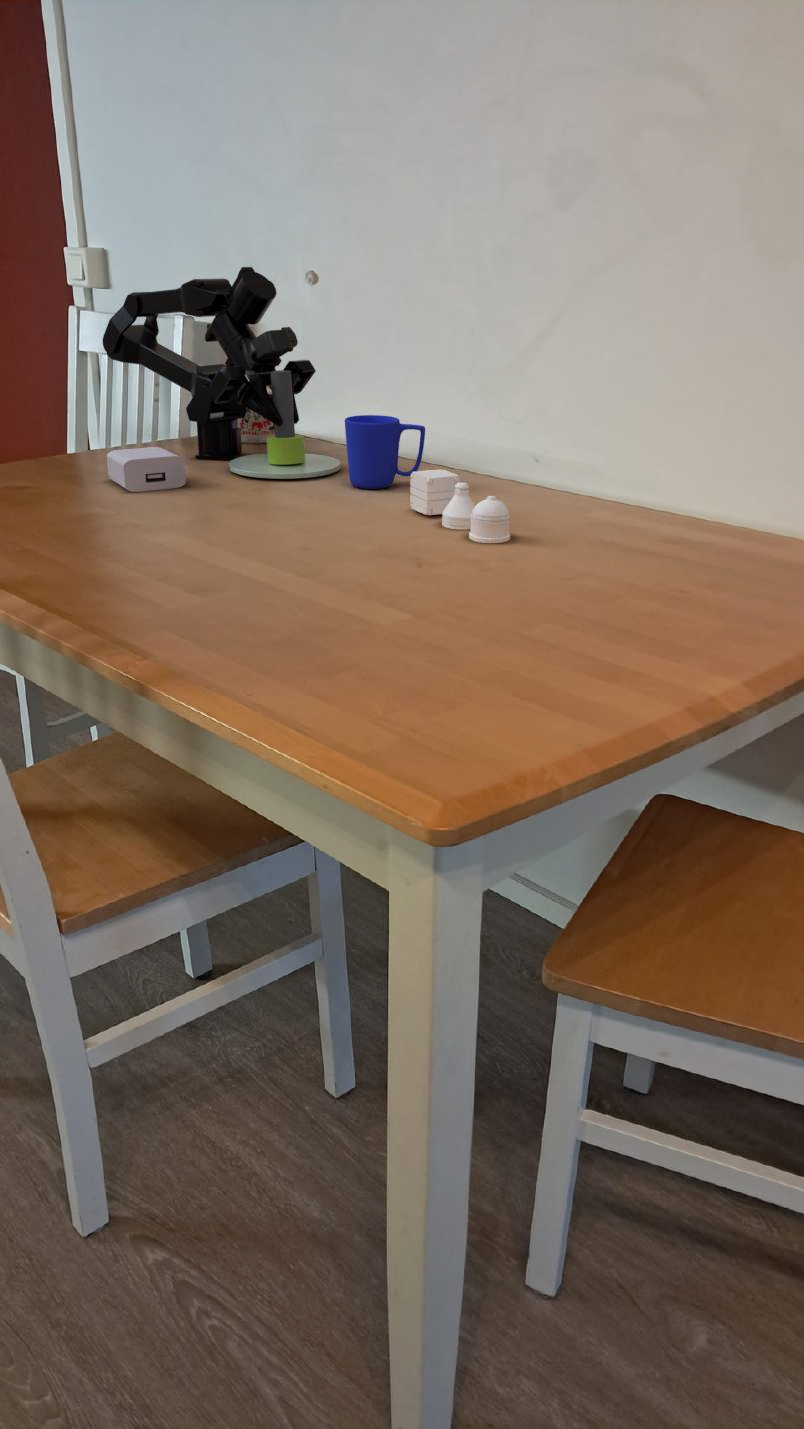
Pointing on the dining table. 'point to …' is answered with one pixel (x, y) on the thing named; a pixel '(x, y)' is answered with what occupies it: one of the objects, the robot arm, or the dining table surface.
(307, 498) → the dining table surface
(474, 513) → the container set
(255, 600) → the dining table surface
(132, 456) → the charger
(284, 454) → the sponge wand
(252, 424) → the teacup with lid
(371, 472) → the mug
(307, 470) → the plate
